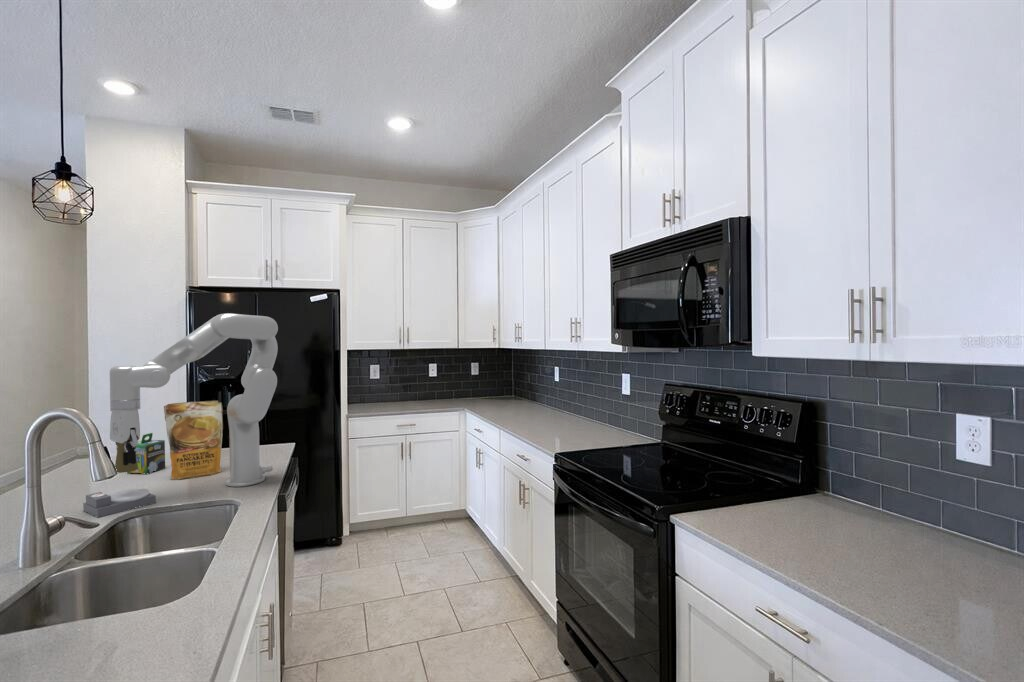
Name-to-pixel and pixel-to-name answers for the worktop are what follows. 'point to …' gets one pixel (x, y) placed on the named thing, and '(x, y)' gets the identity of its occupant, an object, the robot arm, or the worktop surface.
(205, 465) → the pancake mix bag
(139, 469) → the chalk box
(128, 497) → the kitchen scale
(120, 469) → the cork
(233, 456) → the robot arm
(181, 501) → the worktop surface
